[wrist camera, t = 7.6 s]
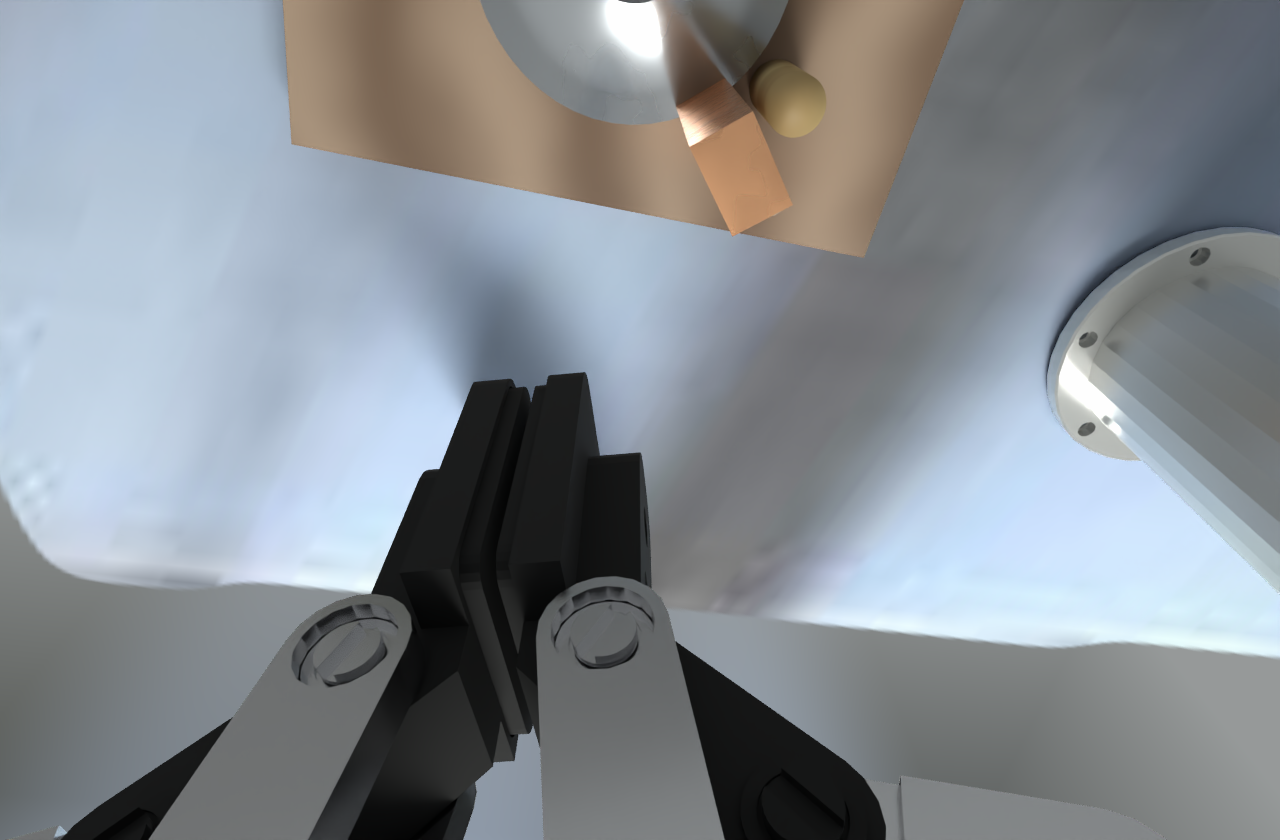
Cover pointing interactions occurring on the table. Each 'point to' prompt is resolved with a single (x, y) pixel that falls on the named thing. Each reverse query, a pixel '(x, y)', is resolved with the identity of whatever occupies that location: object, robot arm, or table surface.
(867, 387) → the table surface
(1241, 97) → the table surface
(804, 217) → the walnut board
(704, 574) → the table surface
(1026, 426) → the table surface
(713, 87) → the flange plate
